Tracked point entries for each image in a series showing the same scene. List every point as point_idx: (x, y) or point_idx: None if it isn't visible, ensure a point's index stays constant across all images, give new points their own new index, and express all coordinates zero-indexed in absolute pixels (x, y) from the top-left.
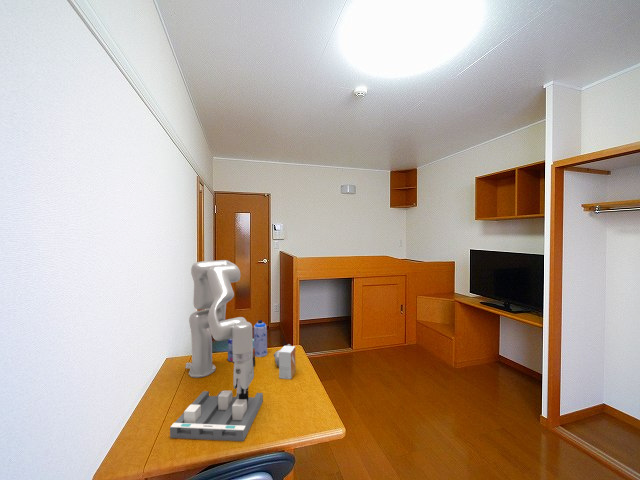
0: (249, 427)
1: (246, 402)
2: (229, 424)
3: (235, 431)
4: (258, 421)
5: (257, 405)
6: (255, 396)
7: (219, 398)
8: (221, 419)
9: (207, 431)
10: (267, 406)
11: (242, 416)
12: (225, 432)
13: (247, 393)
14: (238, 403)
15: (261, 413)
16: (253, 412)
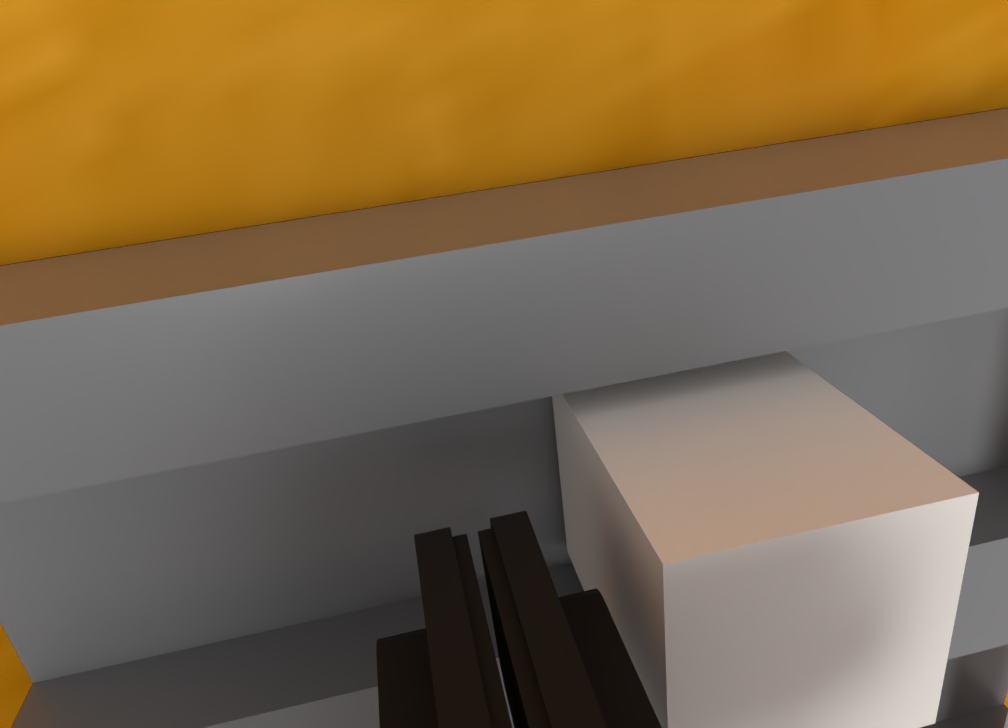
0: (824, 142)
1: (656, 510)
2: None
3: (1002, 313)
4: (595, 54)
5: (320, 255)
6: (27, 483)
7: None
8: None
9: (960, 664)
10: (31, 70)
11: (806, 374)
12: (1004, 447)
13: (496, 712)
14: (855, 653)
15: (335, 107)
16: (635, 210)
